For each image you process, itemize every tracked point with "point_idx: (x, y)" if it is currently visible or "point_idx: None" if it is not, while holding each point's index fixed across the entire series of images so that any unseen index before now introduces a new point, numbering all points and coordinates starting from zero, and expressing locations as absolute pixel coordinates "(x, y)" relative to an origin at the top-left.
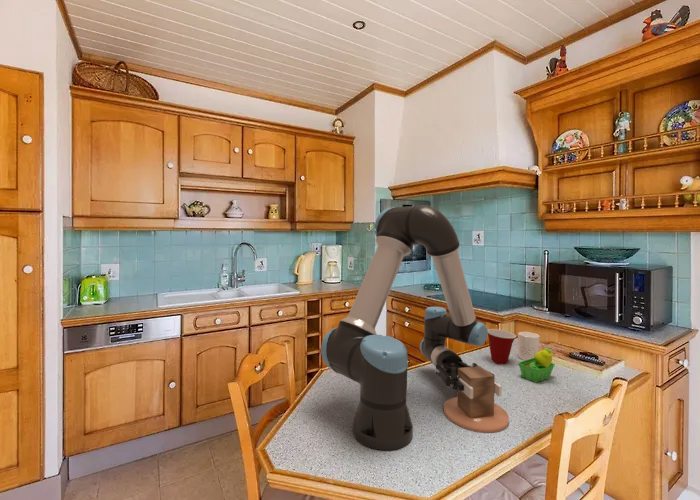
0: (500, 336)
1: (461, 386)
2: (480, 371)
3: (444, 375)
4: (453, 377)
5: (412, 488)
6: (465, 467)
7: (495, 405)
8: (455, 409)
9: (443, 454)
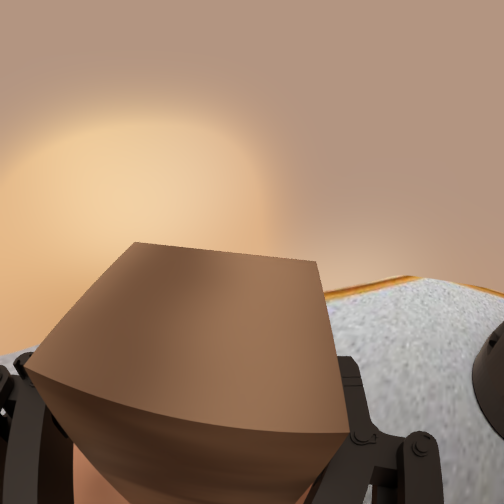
0: None
1: (344, 360)
2: (146, 299)
3: (440, 498)
4: (376, 448)
5: (451, 286)
6: (371, 301)
7: (76, 457)
8: (304, 497)
9: (407, 329)
